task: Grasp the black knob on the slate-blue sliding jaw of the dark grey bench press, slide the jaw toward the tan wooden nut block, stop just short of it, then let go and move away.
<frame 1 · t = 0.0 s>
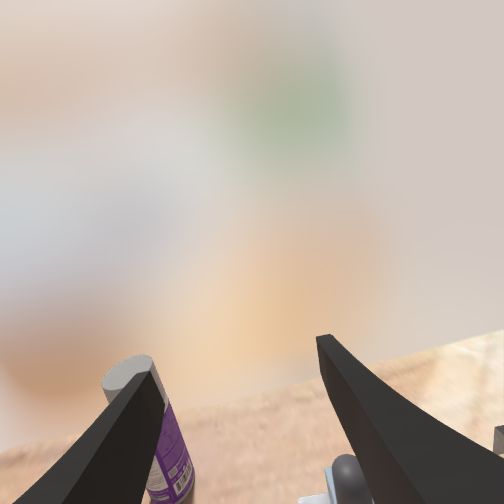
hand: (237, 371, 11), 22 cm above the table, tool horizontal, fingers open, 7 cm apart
container: (174, 484, 27), on the table
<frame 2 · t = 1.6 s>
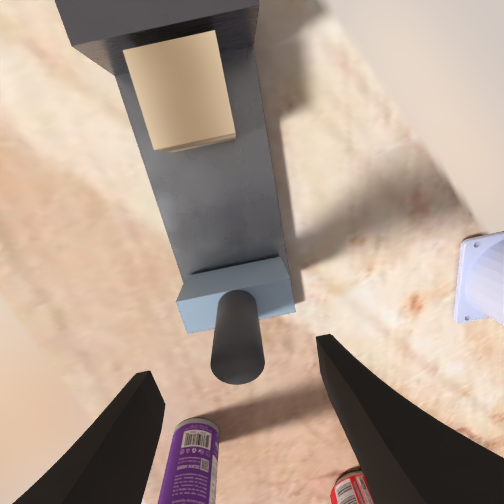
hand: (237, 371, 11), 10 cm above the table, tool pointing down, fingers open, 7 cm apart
container: (197, 431, 26), on the table
nut block: (195, 110, 15), point 1 cm above the table, touching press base
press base: (218, 198, 18), on the table
soda can: (354, 481, 31), on the table
sliding jaw: (237, 311, 15), point 5 cm above the table, slide at 0.0 cm
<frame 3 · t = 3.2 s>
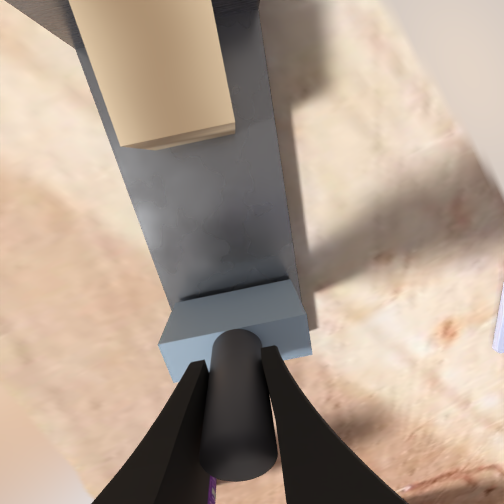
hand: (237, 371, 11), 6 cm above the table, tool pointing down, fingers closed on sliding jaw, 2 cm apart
container: (191, 473, 23), on the table
nut block: (183, 95, 12), point 1 cm above the table, touching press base
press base: (214, 208, 14), on the table
sliding jaw: (237, 357, 11), point 5 cm above the table, slide at 0.0 cm, touching gripper
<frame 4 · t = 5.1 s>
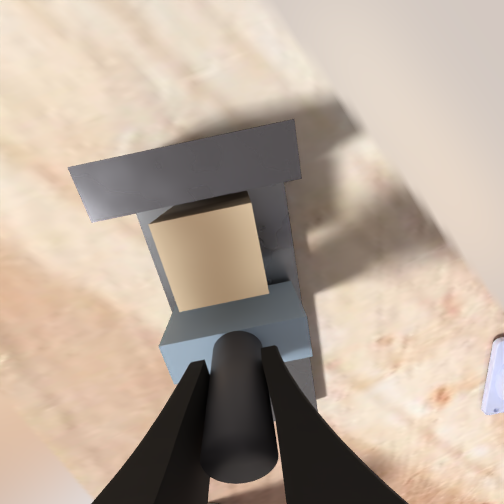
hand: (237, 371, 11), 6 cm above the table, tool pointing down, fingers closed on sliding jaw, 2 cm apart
nut block: (218, 234, 14), point 1 cm above the table, touching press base
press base: (239, 307, 17), on the table
sliding jaw: (238, 359, 12), point 5 cm above the table, slide at 6.7 cm, touching gripper
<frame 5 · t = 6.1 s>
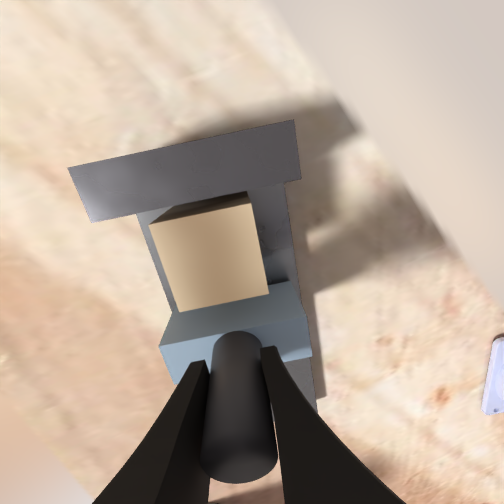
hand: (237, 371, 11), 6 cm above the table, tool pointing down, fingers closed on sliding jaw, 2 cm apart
nut block: (218, 234, 14), point 1 cm above the table, touching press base
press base: (239, 307, 17), on the table
sliding jaw: (238, 359, 12), point 5 cm above the table, slide at 6.7 cm, touching gripper
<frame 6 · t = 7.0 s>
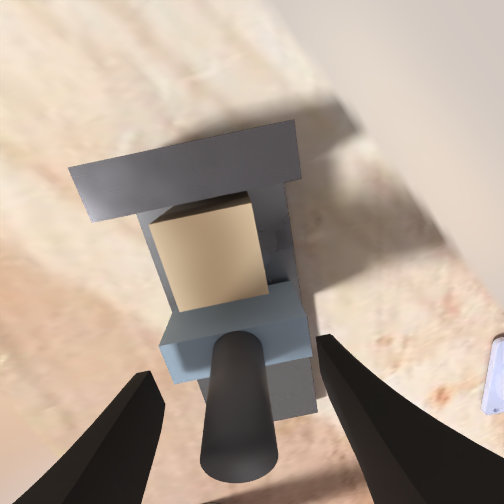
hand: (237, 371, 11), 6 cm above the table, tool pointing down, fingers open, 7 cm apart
nut block: (218, 234, 14), point 1 cm above the table, touching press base
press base: (239, 307, 17), on the table
sliding jaw: (238, 359, 12), point 5 cm above the table, slide at 6.7 cm
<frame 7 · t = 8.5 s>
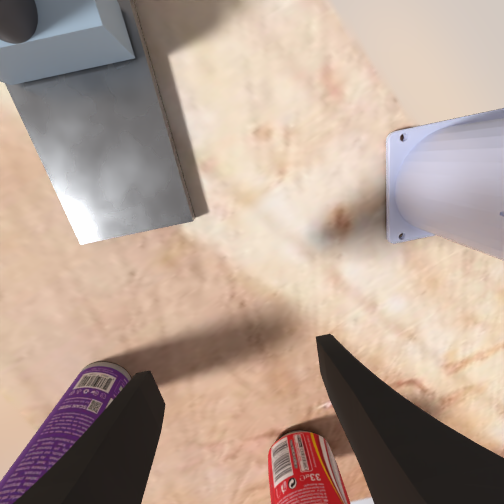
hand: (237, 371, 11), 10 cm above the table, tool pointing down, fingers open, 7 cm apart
container: (107, 379, 23), on the table
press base: (82, 68, 15), on the table
soda can: (297, 443, 28), on the table
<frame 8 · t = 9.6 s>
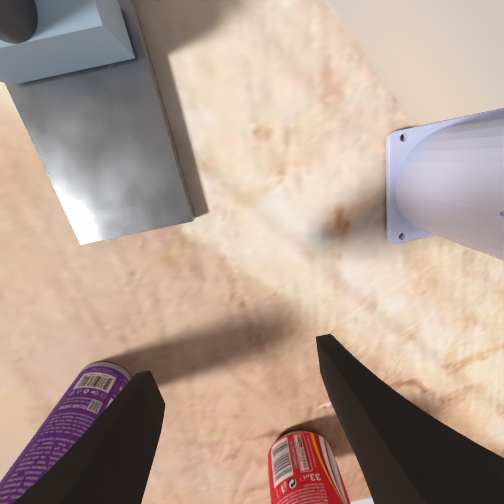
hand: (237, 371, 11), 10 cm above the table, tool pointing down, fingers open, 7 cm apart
container: (107, 379, 23), on the table
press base: (82, 68, 15), on the table
soda can: (297, 443, 28), on the table
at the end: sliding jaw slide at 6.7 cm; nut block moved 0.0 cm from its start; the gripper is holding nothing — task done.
